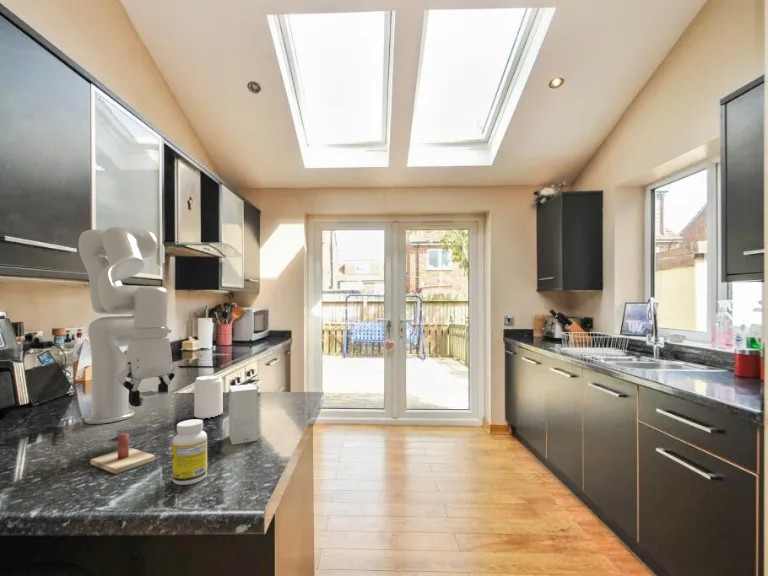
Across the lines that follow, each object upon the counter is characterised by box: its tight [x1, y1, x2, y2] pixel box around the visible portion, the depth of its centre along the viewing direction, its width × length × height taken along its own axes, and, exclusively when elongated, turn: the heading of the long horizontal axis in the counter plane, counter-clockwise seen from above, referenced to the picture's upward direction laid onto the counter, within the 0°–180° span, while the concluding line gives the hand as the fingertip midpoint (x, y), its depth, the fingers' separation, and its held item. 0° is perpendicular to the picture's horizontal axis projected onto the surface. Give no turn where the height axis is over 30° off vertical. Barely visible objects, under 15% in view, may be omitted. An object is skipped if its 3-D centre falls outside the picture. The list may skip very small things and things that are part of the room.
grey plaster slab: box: [116, 422, 148, 438], centre depth 105 cm, size 3×6×2 cm, turn 149°
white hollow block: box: [128, 388, 171, 413], centre depth 101 cm, size 8×6×4 cm
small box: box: [228, 383, 259, 446], centre depth 100 cm, size 8×6×13 cm
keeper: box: [89, 433, 156, 475], centre depth 86 cm, size 11×8×6 cm
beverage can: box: [193, 374, 224, 420], centre depth 122 cm, size 8×8×12 cm
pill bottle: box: [172, 418, 208, 486], centre depth 77 cm, size 6×6×11 cm
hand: (148, 401), depth 101 cm, fingers closed on white hollow block, 6 cm apart
